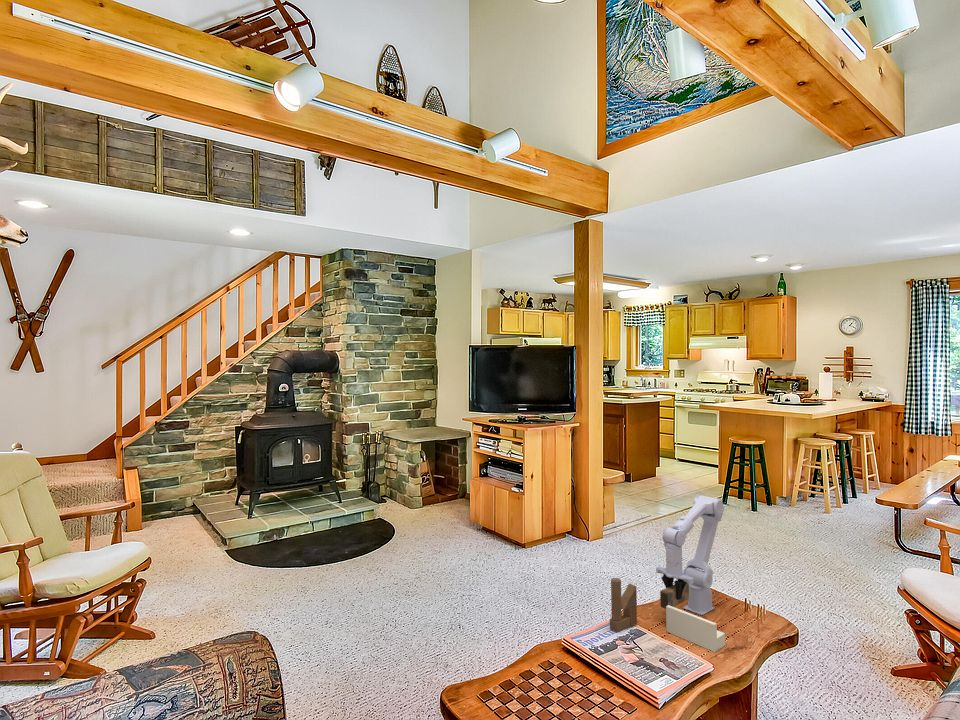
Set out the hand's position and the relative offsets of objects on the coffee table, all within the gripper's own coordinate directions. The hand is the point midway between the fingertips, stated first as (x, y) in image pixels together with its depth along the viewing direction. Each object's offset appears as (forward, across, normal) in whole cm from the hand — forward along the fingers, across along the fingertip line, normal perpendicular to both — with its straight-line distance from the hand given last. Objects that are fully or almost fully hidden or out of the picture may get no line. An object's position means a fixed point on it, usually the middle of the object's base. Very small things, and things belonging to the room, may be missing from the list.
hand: (674, 597), depth 198 cm
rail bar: (+2, 0, 0) cm, 2 cm away
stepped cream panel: (+9, +12, -6) cm, 16 cm away
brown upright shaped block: (+9, -9, -19) cm, 23 cm away
